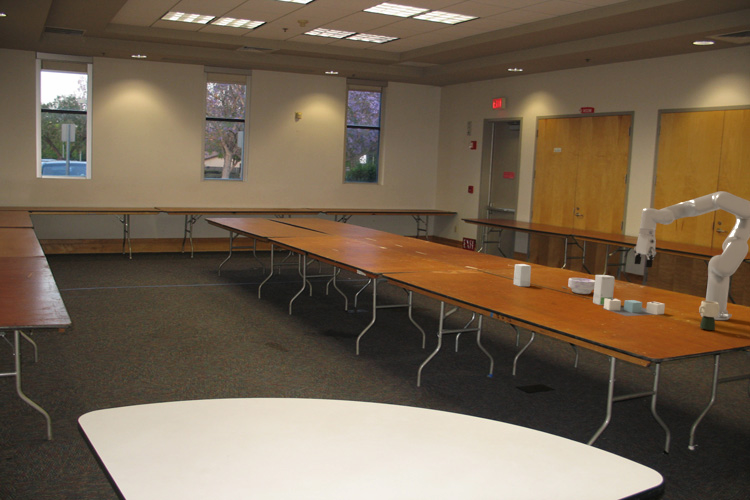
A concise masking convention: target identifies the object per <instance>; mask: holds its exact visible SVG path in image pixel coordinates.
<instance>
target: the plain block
mask: <svg viewBox="0 0 750 500" xmlns="http://www.w3.org/2000/svg"><path fill="white" fill-rule="evenodd" d="M623 303H624V305H623V307H624V310H625V311H629V312H632V313H634V312H641V311H642V308H643V301H639V300H634V299H630V300H629V299H628V300H626V299H625V300H624V302H623Z"/></svg>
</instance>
